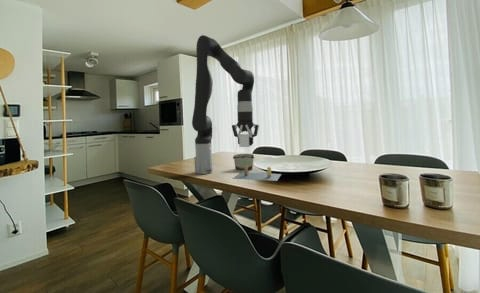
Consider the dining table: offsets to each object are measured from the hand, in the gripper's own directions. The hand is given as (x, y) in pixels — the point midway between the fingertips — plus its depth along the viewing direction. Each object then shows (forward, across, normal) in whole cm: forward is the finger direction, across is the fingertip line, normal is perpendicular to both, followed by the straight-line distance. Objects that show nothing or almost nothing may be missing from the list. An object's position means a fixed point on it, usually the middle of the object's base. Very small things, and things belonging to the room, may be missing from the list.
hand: (245, 144), depth 120 cm
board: (+17, +6, 0) cm, 18 cm away
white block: (+1, 0, 0) cm, 1 cm away
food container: (+18, -6, +17) cm, 25 cm away
